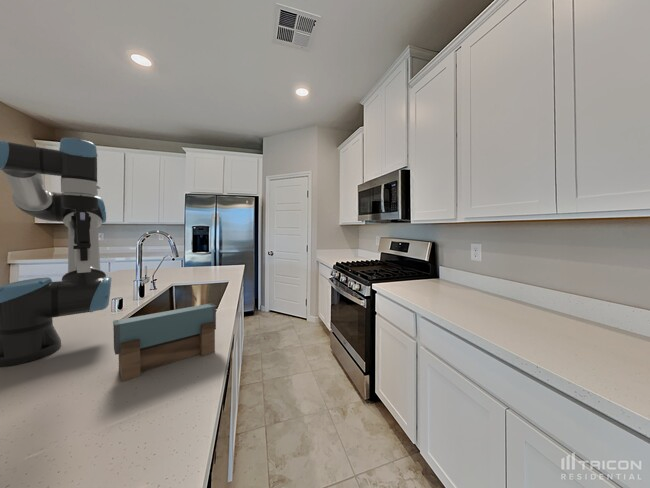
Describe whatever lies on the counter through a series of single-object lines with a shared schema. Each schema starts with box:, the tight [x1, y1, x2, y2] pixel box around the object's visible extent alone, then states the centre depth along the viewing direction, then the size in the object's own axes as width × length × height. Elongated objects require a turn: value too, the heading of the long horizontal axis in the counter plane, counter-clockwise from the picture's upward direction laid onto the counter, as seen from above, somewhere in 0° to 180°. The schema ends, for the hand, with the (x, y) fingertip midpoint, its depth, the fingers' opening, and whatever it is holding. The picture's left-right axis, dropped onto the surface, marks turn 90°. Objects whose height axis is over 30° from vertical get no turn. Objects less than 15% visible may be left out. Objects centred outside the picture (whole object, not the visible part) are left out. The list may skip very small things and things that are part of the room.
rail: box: [112, 302, 217, 355], centre depth 77 cm, size 4×26×8 cm, turn 134°
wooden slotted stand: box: [118, 322, 216, 382], centre depth 77 cm, size 7×24×10 cm, turn 134°
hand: (82, 268), depth 74 cm, fingers open, 13 cm apart
